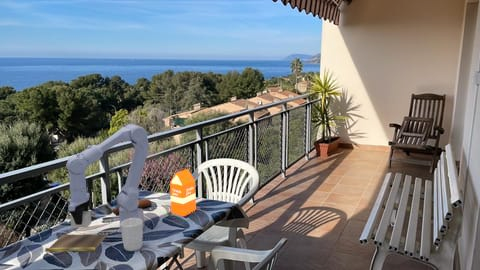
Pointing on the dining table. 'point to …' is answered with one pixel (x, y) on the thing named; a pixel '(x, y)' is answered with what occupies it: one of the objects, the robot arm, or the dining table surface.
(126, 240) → the white cup
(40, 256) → the dining table surface
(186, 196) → the orange juice
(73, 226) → the carton
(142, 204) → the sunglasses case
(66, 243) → the shelf board
